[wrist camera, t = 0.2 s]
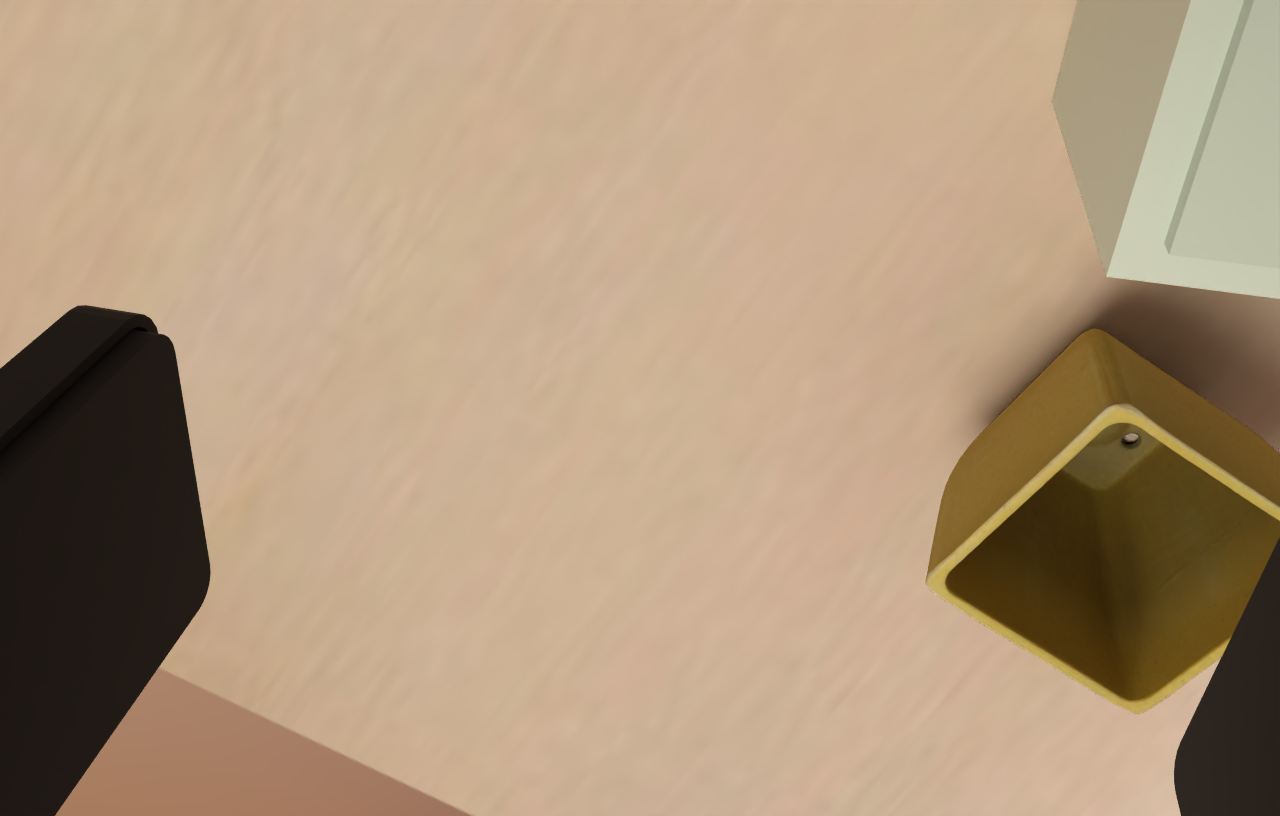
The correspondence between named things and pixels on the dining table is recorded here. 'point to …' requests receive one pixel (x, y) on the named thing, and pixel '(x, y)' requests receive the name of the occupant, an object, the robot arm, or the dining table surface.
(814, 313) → the dining table surface
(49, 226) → the dining table surface
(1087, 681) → the flower pot
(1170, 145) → the housing unit
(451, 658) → the dining table surface
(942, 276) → the dining table surface
